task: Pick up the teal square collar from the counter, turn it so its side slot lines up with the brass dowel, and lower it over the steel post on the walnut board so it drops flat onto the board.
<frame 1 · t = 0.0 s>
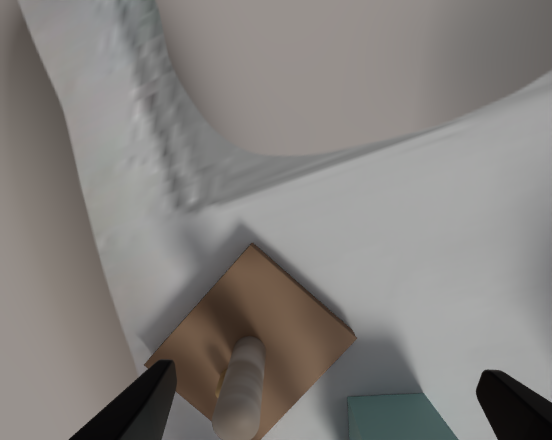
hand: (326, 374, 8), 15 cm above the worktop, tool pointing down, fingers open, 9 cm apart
collar: (386, 430, 24), on the worktop
board: (251, 342, 24), on the worktop
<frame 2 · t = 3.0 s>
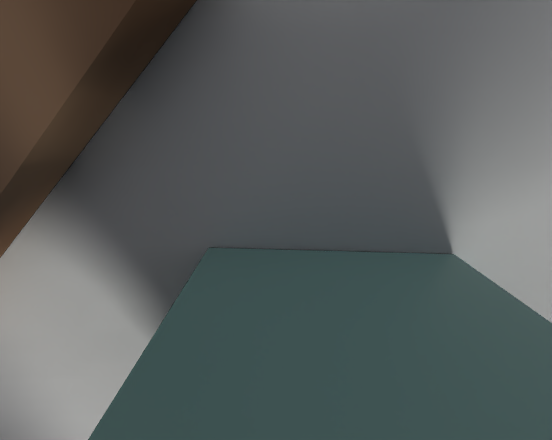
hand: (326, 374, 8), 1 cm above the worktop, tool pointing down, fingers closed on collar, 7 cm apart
collar: (321, 347, 9), on the worktop, touching gripper
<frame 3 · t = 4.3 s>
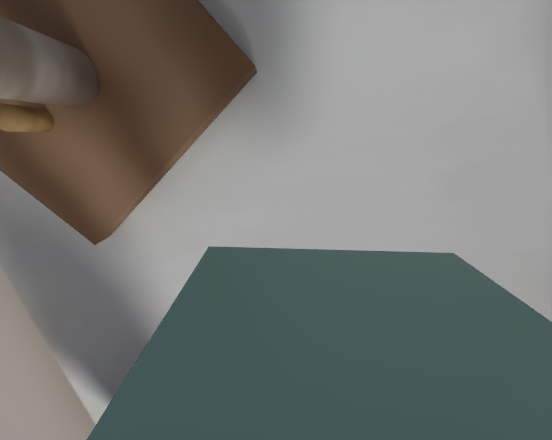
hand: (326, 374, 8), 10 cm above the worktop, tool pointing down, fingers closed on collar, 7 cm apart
collar: (321, 346, 9), point 9 cm above the worktop, touching gripper
board: (92, 83, 14), on the worktop
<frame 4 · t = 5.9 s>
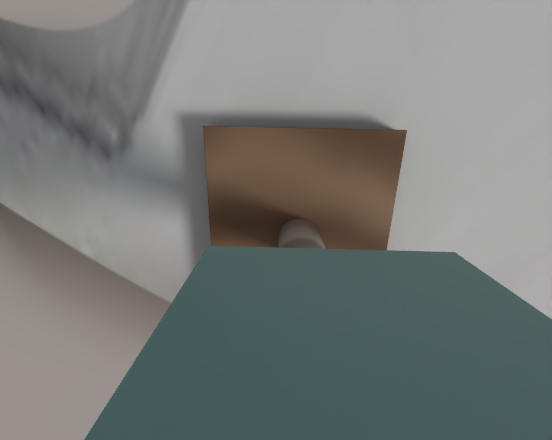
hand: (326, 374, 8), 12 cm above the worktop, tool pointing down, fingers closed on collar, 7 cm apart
collar: (321, 346, 9), point 11 cm above the worktop, touching gripper
board: (297, 229, 19), on the worktop
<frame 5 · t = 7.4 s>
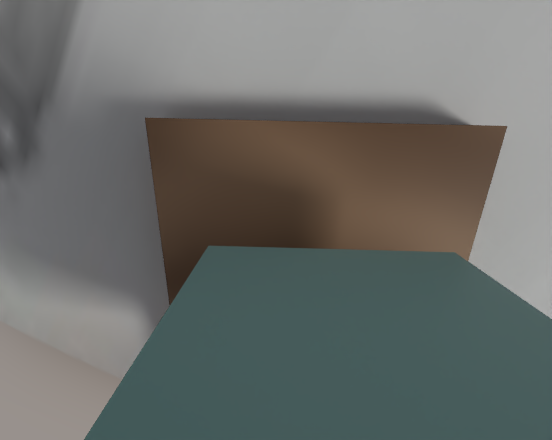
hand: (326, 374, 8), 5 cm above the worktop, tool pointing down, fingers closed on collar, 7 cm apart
collar: (321, 346, 8), point 4 cm above the worktop, touching gripper
board: (307, 280, 12), on the worktop
when the fingers open (3 cm above the worktop, at t = 8.8 s): collar stays where it is, resting on board.
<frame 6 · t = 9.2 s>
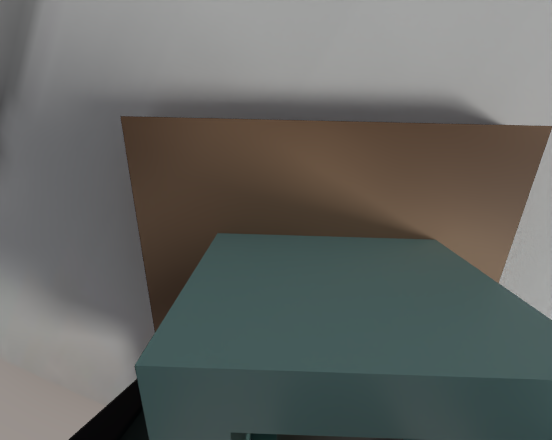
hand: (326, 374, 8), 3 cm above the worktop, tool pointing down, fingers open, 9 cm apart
collar: (317, 325, 9), point 1 cm above the worktop, touching board
board: (311, 300, 11), on the worktop
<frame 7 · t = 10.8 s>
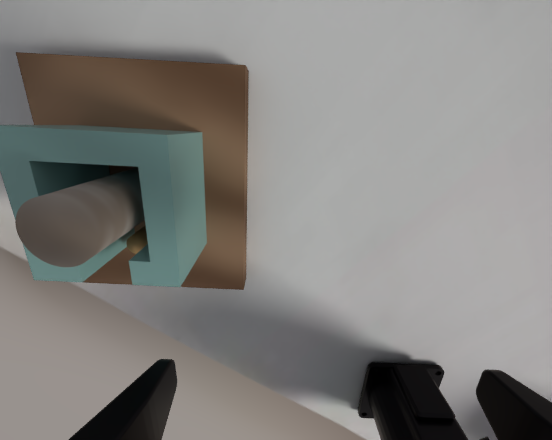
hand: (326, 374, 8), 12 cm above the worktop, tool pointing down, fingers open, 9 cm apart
collar: (147, 188, 16), point 1 cm above the worktop, touching board
board: (157, 184, 17), on the worktop
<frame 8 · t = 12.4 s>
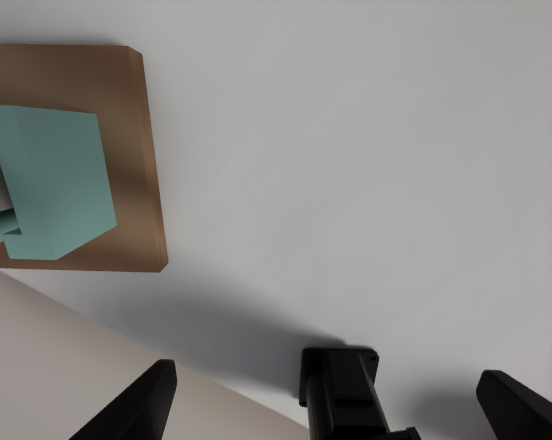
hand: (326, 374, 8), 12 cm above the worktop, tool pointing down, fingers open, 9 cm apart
collar: (52, 172, 16), point 1 cm above the worktop, touching board
board: (70, 169, 18), on the worktop
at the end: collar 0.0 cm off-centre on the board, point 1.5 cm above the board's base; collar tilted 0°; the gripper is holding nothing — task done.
